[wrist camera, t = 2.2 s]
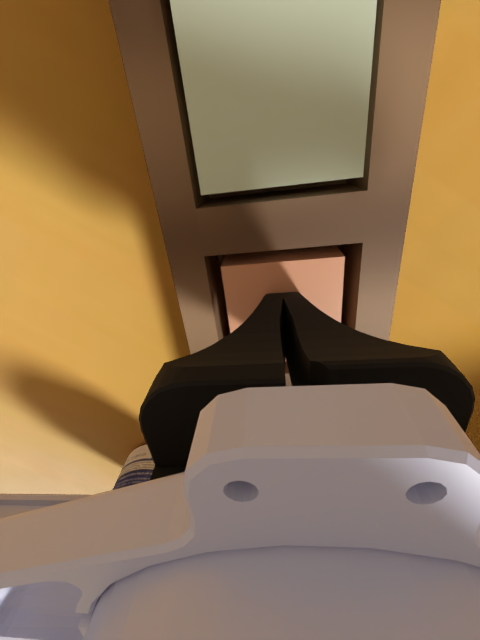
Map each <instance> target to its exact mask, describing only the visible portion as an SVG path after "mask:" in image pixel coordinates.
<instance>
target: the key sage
mask: <svg viewBox="0 0 480 640" xmlns="http://www.w3.org/2000/svg"><path fill="white" fill-rule="evenodd" d="M170 5H171V11H172V18H173V24H174V30H175V36H176V42H177V49H178V55H179V61H180V67H181V74H182V80H183V86H184V92H185V98H186V105H187V111H188V117H189V123H190V130H191V136H192V142H193V148H194V154H195V161H196V167H197V173H198V179H199V186H200V192H201V195H208V194H217V193H226V192H235V191H244V190H252V189H261V188H270V187H279V186H288V185H297V184H306V183H315V182H324V181H333V180H341V179H350V178H359V177H363V172H364V159H365V146H366V134H367V121H368V109H369V96H370V84H371V71H372V59H373V46H374V33H375V21H376V8H377V0H170Z"/></svg>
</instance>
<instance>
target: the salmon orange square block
mask: <svg viewBox="0 0 480 640" xmlns="http://www.w3.org/2000/svg"><path fill="white" fill-rule="evenodd" d="M344 263H345V256H344V255H343V253H342V252H341V251H340V250H339V248H338V247H337V246H336V245H330V246H318V247H307V248H295V249H284V250H272V251H261V252H249V253H238V254H226V255H225V257H224V260H223V262H222V265H221V272H222V279H223V286H224V293H225V299H226V306H227V313H228V320H229V327H230V333H232V332H233V331H234V330H236V329H237V328H238V327H239V326H240V325H242V324H243V322H244V321H245V320H246V319H247V318H248V317H249V316H250V315H251V314H252V312H253V311H254V310H255V309H256V307H257V306H258V305H259V303H260V302H261V300H262V298H263V297H264V296H265V295H266V294H270V293H284V292H299V293H300V294H301V295H302V296H304V297H305V298H306V299H307V300H308V301H309V302H310V303H312V304H313V305H314V306H315V307H317V308H318V309H319V310H321V311H322V312H324V313H325V314H327V315H328V316H330V317H331V318H333V319H335V320H336V321H338V322H340V323H341V313H342V297H343V280H344Z"/></svg>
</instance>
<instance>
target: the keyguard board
mask: <svg viewBox="0 0 480 640" xmlns="http://www.w3.org/2000/svg"><path fill="white" fill-rule="evenodd" d="M109 4H110V9H111V13H112V17H113V22H114V26H115V30H116V34H117V39H118V43H119V47H120V52H121V56H122V60H123V65H124V69H125V73H126V78H127V82H128V86H129V91H130V95H131V99H132V104H133V108H134V112H135V116H136V121H137V125H138V129H139V134H140V138H141V142H142V147H143V151H144V155H145V160H146V164H147V168H148V173H149V177H150V181H151V186H152V190H153V194H154V198H155V203H156V207H157V211H158V216H159V220H160V224H161V229H162V233H163V237H164V242H165V246H166V250H167V255H168V259H169V263H170V268H171V272H172V276H173V281H174V285H175V289H176V293H177V298H178V302H179V306H180V311H181V315H182V319H183V324H184V328H185V332H186V337H187V341H188V345H189V350H190V354H193V353H196V352H198V351H200V350H203V349H205V348H207V347H209V346H211V345H213V344H214V343H216V342H218V341H219V340H221V339H223V338H224V337H226V336H227V335H229V334H230V327H229V320H228V313H227V306H226V299H225V293H224V286H223V279H222V272H221V265H222V262H223V260H224V257H225V255H226V254H238V253H249V252H261V251H272V250H284V249H295V248H307V247H318V246H330V245H336V246H337V247H338V248H339V250H340V251H341V252H342V253H343V255H344V256H345V263H344V280H343V297H342V313H341V323H342V324H344V325H346V326H348V327H350V328H353V329H355V330H357V331H360V332H363V333H365V334H368V335H371V336H374V337H377V338H380V339H384V340H388V341H389V336H390V329H391V323H392V316H393V310H394V303H395V297H396V290H397V284H398V277H399V271H400V264H401V258H402V251H403V245H404V238H405V232H406V225H407V219H408V212H409V205H410V199H411V192H412V186H413V179H414V173H415V166H416V160H417V153H418V147H419V140H420V134H421V127H422V121H423V114H424V108H425V101H426V95H427V88H428V82H429V75H430V69H431V62H432V56H433V49H434V43H435V36H436V30H437V23H438V17H439V10H440V4H441V0H377V8H376V21H375V33H374V46H373V59H372V71H371V84H370V96H369V109H368V121H367V134H366V146H365V159H364V172H363V177H359V178H350V179H341V180H333V181H324V182H315V183H306V184H297V185H288V186H279V187H270V188H261V189H252V190H244V191H235V192H226V193H217V194H208V195H201V192H200V186H199V179H198V173H197V167H196V161H195V154H194V148H193V142H192V136H191V130H190V123H189V117H188V111H187V105H186V98H185V92H184V86H183V80H182V74H181V67H180V61H179V55H178V49H177V42H176V36H175V30H174V24H173V18H172V11H171V5H170V0H109ZM285 378H286V386H292V385H291V380H290V375H289V371H288V366H287V361H285Z"/></svg>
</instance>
